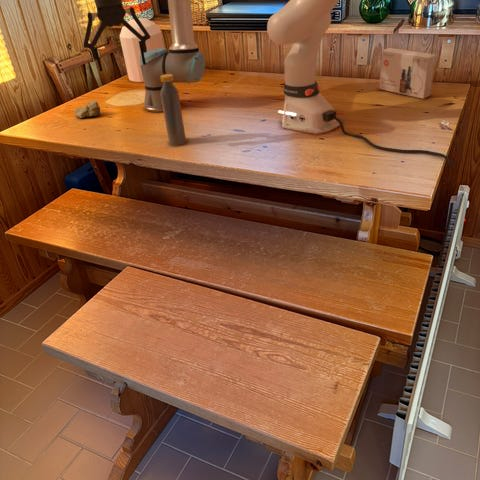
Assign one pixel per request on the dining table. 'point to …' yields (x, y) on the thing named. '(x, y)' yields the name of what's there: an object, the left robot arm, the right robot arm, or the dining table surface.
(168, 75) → the cap
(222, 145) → the dining table surface
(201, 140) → the dining table surface
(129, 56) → the container
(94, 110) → the rock
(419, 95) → the skincare box
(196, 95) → the dining table surface
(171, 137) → the bottle
